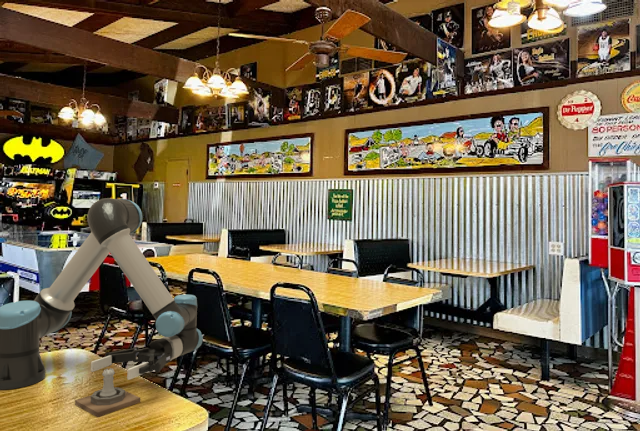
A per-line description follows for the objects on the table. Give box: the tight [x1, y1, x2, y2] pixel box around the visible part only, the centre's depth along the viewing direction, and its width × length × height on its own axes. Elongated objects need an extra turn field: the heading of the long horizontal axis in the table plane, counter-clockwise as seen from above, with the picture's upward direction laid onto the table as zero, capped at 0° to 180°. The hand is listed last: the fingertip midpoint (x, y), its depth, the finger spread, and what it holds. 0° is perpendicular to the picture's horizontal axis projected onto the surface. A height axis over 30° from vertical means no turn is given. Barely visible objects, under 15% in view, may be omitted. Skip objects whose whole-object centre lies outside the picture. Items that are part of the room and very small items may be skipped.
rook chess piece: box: [99, 367, 117, 398], centre depth 125 cm, size 4×4×8 cm
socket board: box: [74, 387, 141, 418], centre depth 125 cm, size 12×12×3 cm
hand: (109, 370), depth 124 cm, fingers open, 13 cm apart
